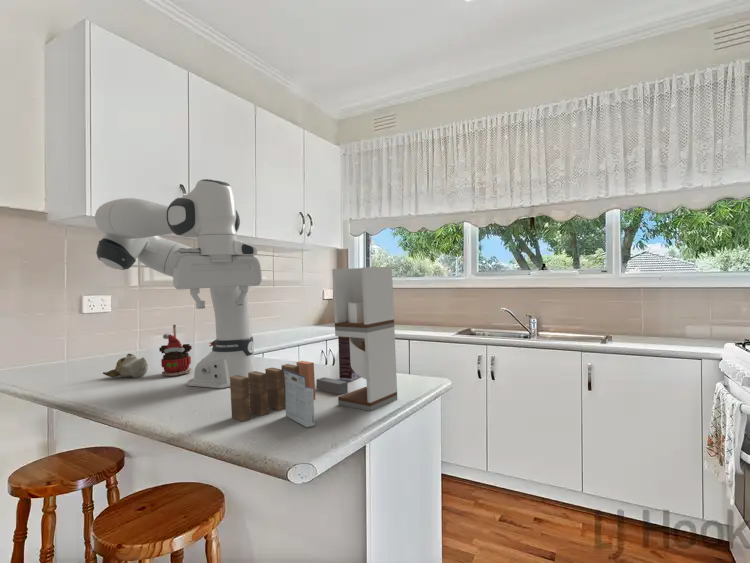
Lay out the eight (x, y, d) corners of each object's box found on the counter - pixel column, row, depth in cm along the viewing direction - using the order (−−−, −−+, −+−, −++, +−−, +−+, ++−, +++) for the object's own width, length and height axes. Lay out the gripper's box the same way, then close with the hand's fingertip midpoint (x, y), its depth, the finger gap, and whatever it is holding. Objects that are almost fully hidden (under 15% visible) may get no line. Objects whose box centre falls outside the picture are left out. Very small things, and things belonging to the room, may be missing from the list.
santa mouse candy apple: (195, 370, 165) (193, 322, 165) (188, 376, 156) (186, 325, 156) (165, 372, 164) (163, 324, 163) (156, 378, 154) (154, 327, 154)
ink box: (316, 426, 98) (313, 374, 98) (306, 428, 97) (304, 376, 97) (294, 414, 108) (291, 367, 107) (285, 416, 106) (282, 368, 106)
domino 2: (261, 416, 107) (259, 375, 107) (250, 412, 110) (248, 372, 110) (268, 413, 109) (266, 373, 108) (257, 410, 112) (255, 371, 112)
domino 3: (278, 410, 111) (276, 371, 111) (267, 407, 114) (265, 368, 114) (285, 408, 112) (283, 369, 112) (273, 405, 116) (271, 367, 115)
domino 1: (242, 421, 103) (240, 379, 103) (231, 417, 107) (229, 376, 107) (250, 419, 105) (248, 377, 105) (239, 415, 108) (237, 375, 108)
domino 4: (294, 405, 114) (292, 367, 114) (283, 402, 118) (281, 365, 118) (300, 403, 116) (299, 366, 116) (289, 400, 119) (287, 364, 119)
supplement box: (352, 381, 137) (349, 331, 137) (339, 380, 140) (336, 330, 139) (365, 375, 145) (363, 327, 145) (353, 374, 147) (351, 327, 147)
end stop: (339, 394, 123) (339, 384, 123) (316, 389, 130) (316, 379, 130) (347, 392, 125) (347, 381, 125) (324, 387, 132) (324, 377, 132)
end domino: (309, 401, 118) (307, 363, 118) (298, 398, 122) (296, 362, 121) (315, 399, 120) (313, 362, 119) (303, 396, 123) (302, 360, 123)
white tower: (366, 393, 123) (360, 268, 122) (397, 399, 116) (391, 266, 115) (338, 404, 114) (332, 269, 113) (370, 411, 107) (364, 267, 106)
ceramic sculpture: (130, 355, 152) (99, 357, 157) (132, 380, 151) (101, 381, 157) (155, 350, 162) (125, 352, 167) (157, 374, 161) (127, 374, 167)
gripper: (176, 247, 95) (179, 311, 95) (263, 248, 108) (265, 304, 109) (167, 249, 99) (170, 310, 100) (251, 249, 113) (254, 303, 113)
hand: (220, 307), depth 104 cm, fingers open, 8 cm apart
